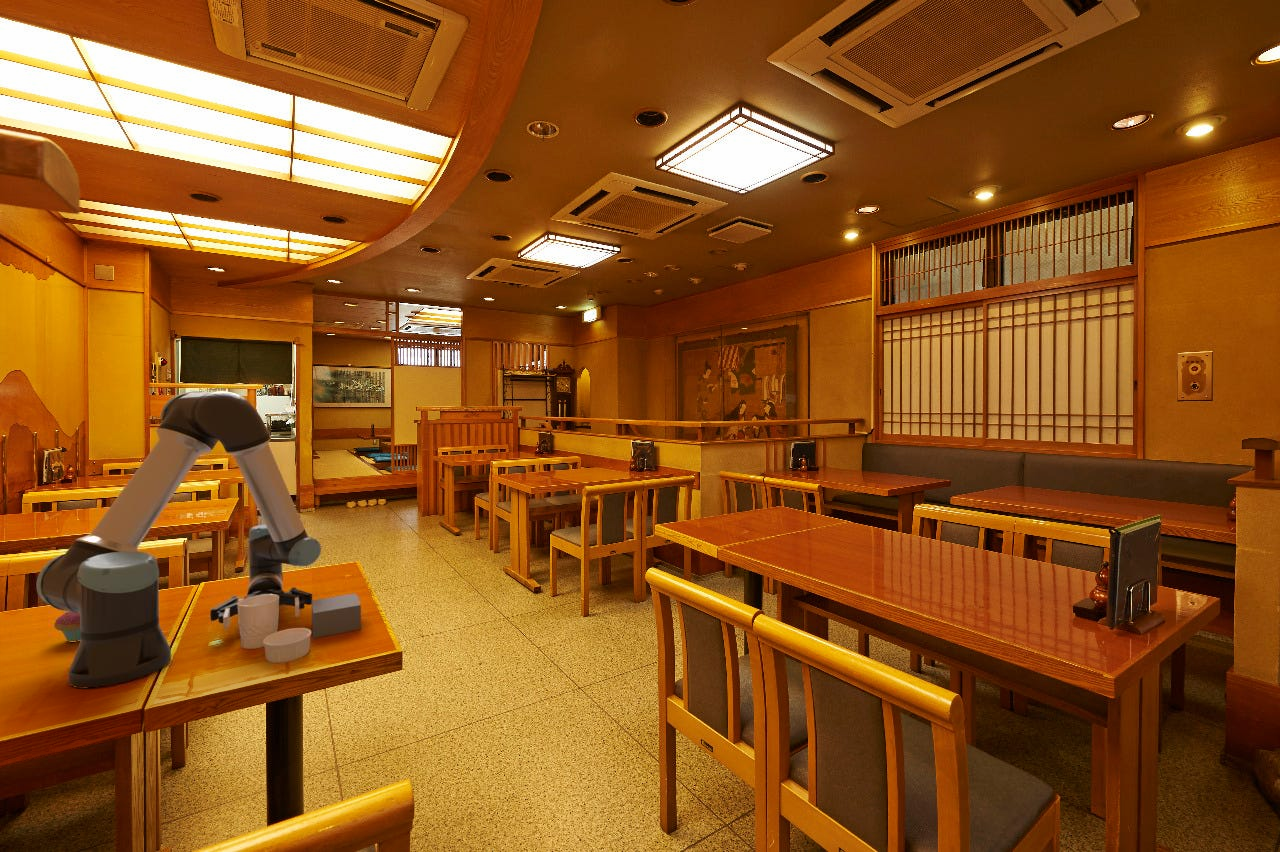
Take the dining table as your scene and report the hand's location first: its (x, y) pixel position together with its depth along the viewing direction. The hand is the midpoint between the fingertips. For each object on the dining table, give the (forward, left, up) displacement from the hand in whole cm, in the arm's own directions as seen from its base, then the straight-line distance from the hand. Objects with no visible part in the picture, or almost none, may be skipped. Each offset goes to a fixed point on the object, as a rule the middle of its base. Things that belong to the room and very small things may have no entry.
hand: (262, 617), depth 124 cm
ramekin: (+5, -11, -6) cm, 13 cm away
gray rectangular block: (+15, +1, -6) cm, 16 cm away
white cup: (-1, 0, -6) cm, 6 cm away
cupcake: (-36, +25, -6) cm, 44 cm away
